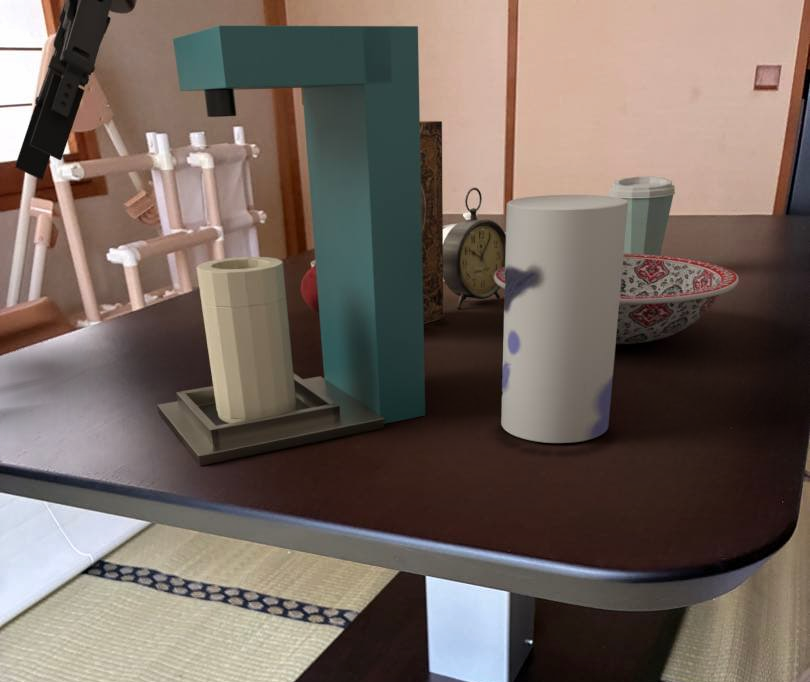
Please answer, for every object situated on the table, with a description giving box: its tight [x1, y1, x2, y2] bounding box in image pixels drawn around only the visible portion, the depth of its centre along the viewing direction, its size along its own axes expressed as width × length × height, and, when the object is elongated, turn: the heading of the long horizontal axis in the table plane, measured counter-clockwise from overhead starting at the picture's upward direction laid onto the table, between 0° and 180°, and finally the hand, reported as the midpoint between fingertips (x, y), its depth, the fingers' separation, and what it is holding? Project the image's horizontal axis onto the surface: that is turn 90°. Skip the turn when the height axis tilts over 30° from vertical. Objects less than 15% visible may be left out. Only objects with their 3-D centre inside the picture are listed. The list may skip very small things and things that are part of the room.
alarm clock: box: [443, 187, 506, 310], centre depth 122 cm, size 11×5×16 cm, turn 131°
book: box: [420, 120, 444, 325], centre depth 110 cm, size 16×6×25 cm, turn 137°
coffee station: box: [157, 25, 426, 467], centre depth 76 cm, size 16×23×33 cm
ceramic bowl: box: [494, 254, 739, 345], centre depth 105 cm, size 29×29×8 cm
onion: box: [300, 263, 319, 315], centre depth 121 cm, size 6×6×8 cm
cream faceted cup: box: [196, 256, 296, 423], centre depth 79 cm, size 8×8×14 cm
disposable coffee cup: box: [608, 175, 676, 256], centre depth 139 cm, size 11×11×15 cm
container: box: [500, 194, 628, 444], centre depth 75 cm, size 10×10×20 cm
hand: (36, 164), depth 81 cm, fingers open, 13 cm apart
